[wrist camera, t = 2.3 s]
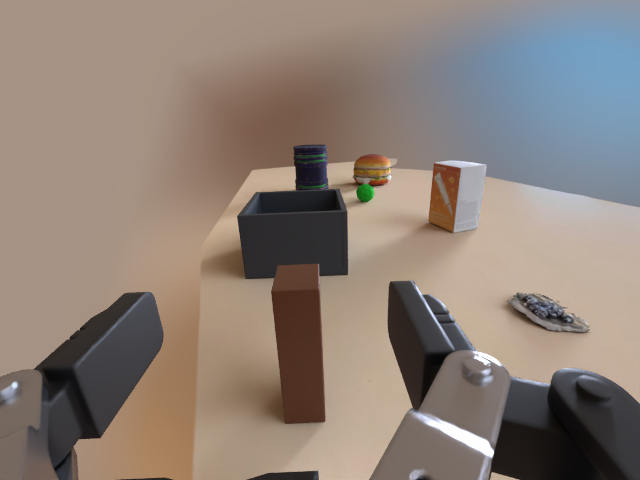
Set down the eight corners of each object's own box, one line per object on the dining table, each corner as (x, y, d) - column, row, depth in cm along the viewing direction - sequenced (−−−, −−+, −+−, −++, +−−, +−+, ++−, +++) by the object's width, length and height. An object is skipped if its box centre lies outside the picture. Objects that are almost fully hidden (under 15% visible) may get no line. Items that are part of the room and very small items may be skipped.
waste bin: (245, 279, 49) (237, 216, 45) (261, 242, 64) (256, 192, 60) (347, 274, 49) (347, 211, 45) (340, 238, 64) (339, 188, 60)
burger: (396, 181, 116) (397, 152, 113) (383, 188, 106) (384, 157, 102) (361, 179, 123) (361, 152, 119) (346, 185, 112) (346, 156, 108)
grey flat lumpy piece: (522, 291, 42) (524, 279, 42) (598, 317, 37) (603, 303, 36) (499, 311, 39) (501, 297, 38) (581, 344, 33) (585, 328, 32)
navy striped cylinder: (333, 194, 101) (331, 144, 96) (321, 201, 92) (319, 147, 87) (304, 192, 104) (301, 144, 99) (290, 199, 96) (286, 147, 91)
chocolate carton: (285, 423, 25) (270, 290, 21) (288, 384, 29) (277, 265, 25) (325, 422, 25) (319, 288, 21) (324, 383, 29) (318, 263, 25)
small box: (427, 222, 71) (432, 162, 66) (451, 218, 73) (457, 159, 68) (453, 233, 64) (461, 167, 59) (478, 229, 66) (488, 164, 61)
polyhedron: (355, 199, 93) (355, 183, 91) (372, 198, 93) (372, 182, 92) (358, 203, 88) (358, 186, 87) (375, 202, 89) (376, 185, 87)
